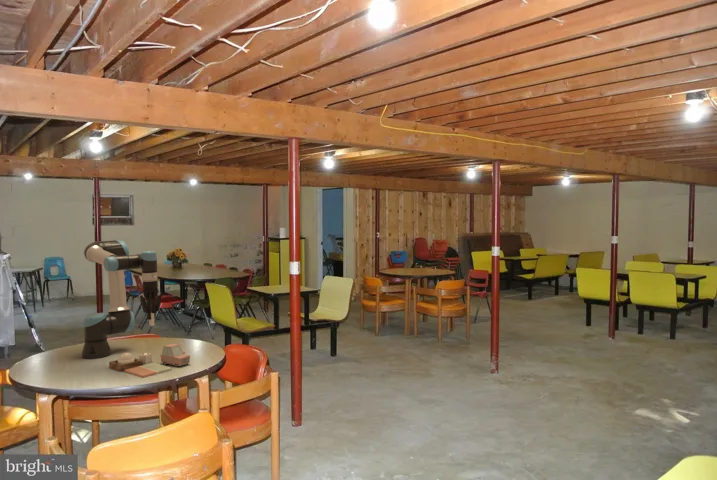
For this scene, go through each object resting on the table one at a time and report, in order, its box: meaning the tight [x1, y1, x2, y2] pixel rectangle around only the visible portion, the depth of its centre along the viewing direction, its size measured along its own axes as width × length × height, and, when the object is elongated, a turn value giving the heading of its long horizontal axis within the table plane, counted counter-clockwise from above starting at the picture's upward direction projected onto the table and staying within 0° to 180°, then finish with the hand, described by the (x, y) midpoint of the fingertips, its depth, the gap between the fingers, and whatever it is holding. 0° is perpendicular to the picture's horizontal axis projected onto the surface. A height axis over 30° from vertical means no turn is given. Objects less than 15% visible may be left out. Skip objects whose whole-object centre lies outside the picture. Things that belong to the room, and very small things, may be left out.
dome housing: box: [108, 357, 144, 372], centre depth 285 cm, size 12×12×3 cm
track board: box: [124, 362, 173, 378], centre depth 277 cm, size 17×16×1 cm
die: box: [138, 352, 153, 365], centre depth 293 cm, size 4×4×5 cm
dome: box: [117, 352, 135, 365], centre depth 284 cm, size 8×8×7 cm
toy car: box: [160, 343, 191, 368], centre depth 288 cm, size 9×15×10 cm, turn 60°
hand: (151, 325), depth 285 cm, fingers closed
